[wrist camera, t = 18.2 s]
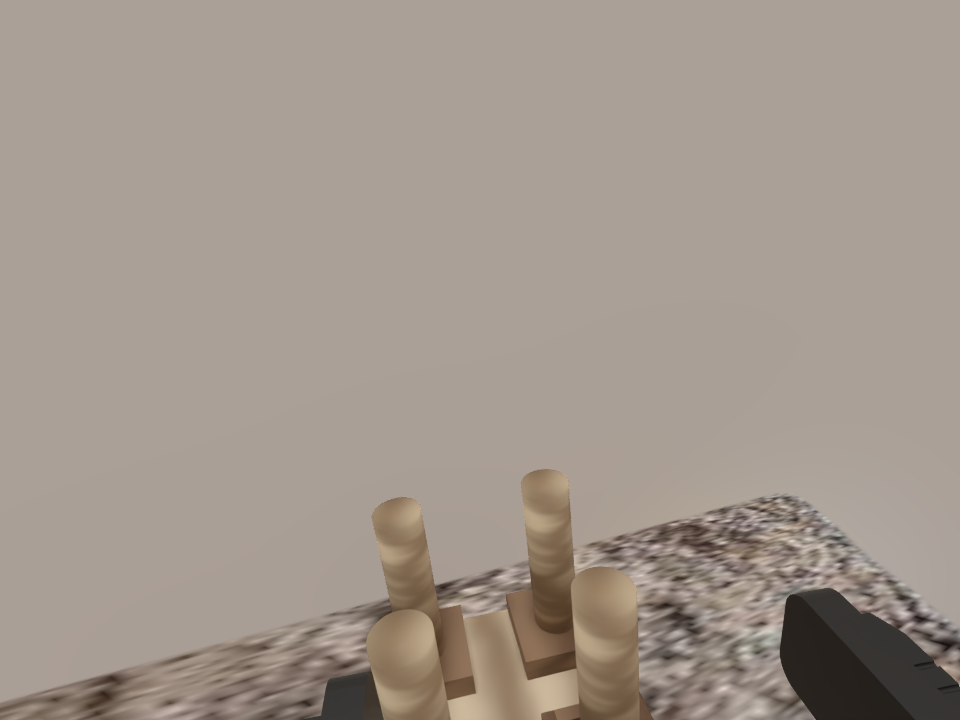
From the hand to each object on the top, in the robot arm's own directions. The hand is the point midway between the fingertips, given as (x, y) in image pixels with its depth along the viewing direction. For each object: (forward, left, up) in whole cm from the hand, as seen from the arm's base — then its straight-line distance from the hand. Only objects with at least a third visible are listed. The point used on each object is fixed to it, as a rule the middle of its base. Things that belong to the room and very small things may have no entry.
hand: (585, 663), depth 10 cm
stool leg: (-2, +17, -31) cm, 35 cm away
